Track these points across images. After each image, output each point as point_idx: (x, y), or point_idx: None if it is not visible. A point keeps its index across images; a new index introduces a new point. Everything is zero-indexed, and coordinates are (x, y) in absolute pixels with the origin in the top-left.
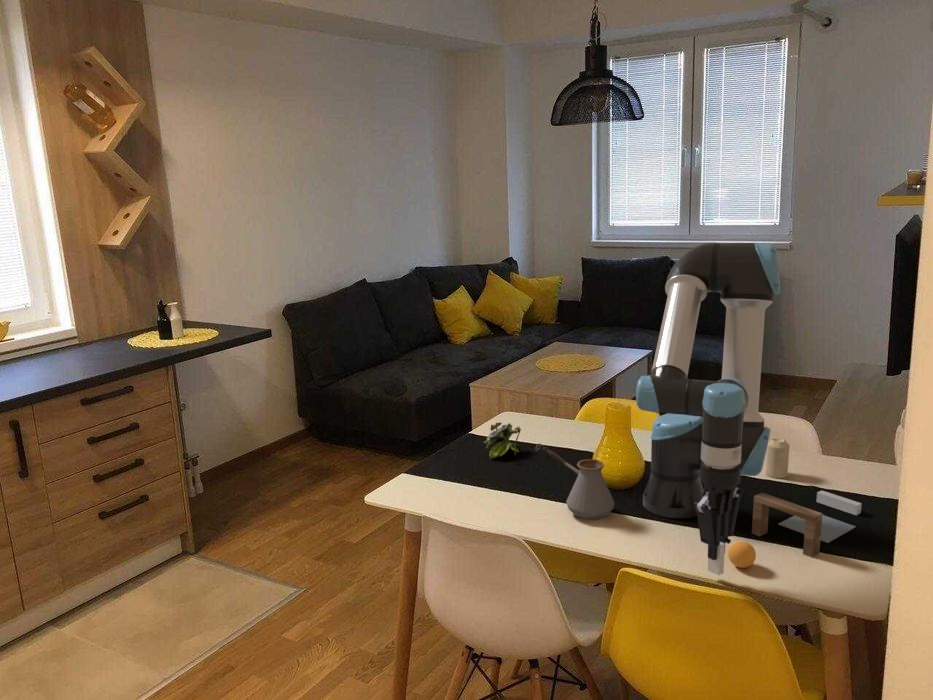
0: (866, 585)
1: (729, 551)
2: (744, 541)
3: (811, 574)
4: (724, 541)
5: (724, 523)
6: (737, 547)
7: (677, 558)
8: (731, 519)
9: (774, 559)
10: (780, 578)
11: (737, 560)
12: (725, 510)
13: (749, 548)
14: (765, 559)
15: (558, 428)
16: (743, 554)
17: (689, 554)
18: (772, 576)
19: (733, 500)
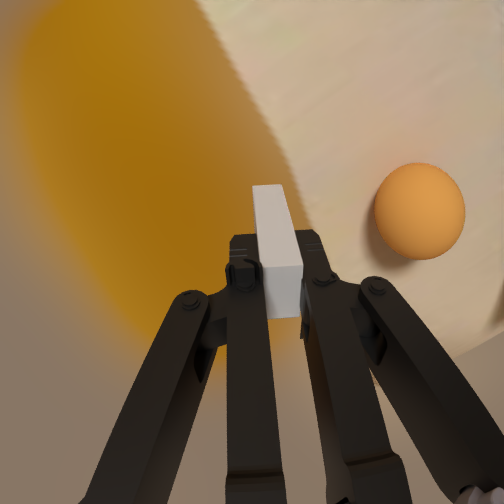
0: (450, 349)
1: (396, 194)
2: (452, 236)
3: (449, 298)
4: (301, 322)
5: (316, 409)
6: (410, 233)
7: (280, 8)
8: (391, 393)
9: (477, 221)
10: (400, 280)
11: (376, 223)
12: (329, 490)
13: (426, 258)
14: (468, 208)
15: None
16: (395, 248)
17: (346, 20)
18: (399, 266)
19: (449, 483)
